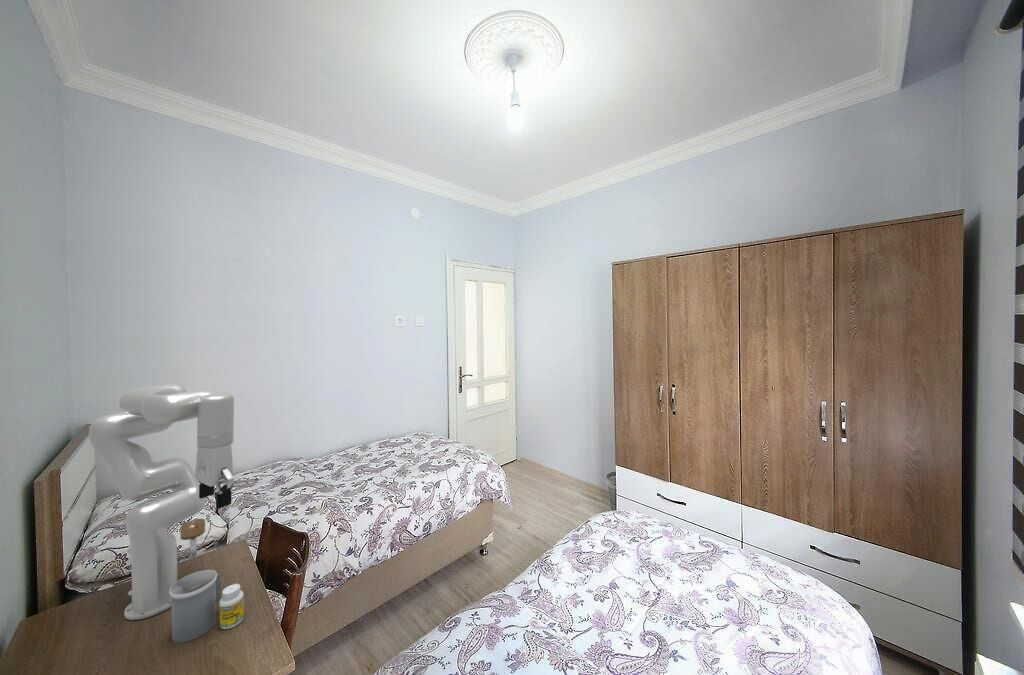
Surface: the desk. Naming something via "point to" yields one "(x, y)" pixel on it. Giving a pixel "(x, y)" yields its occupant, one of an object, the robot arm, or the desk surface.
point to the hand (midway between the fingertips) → (215, 501)
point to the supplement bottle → (231, 606)
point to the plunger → (192, 533)
